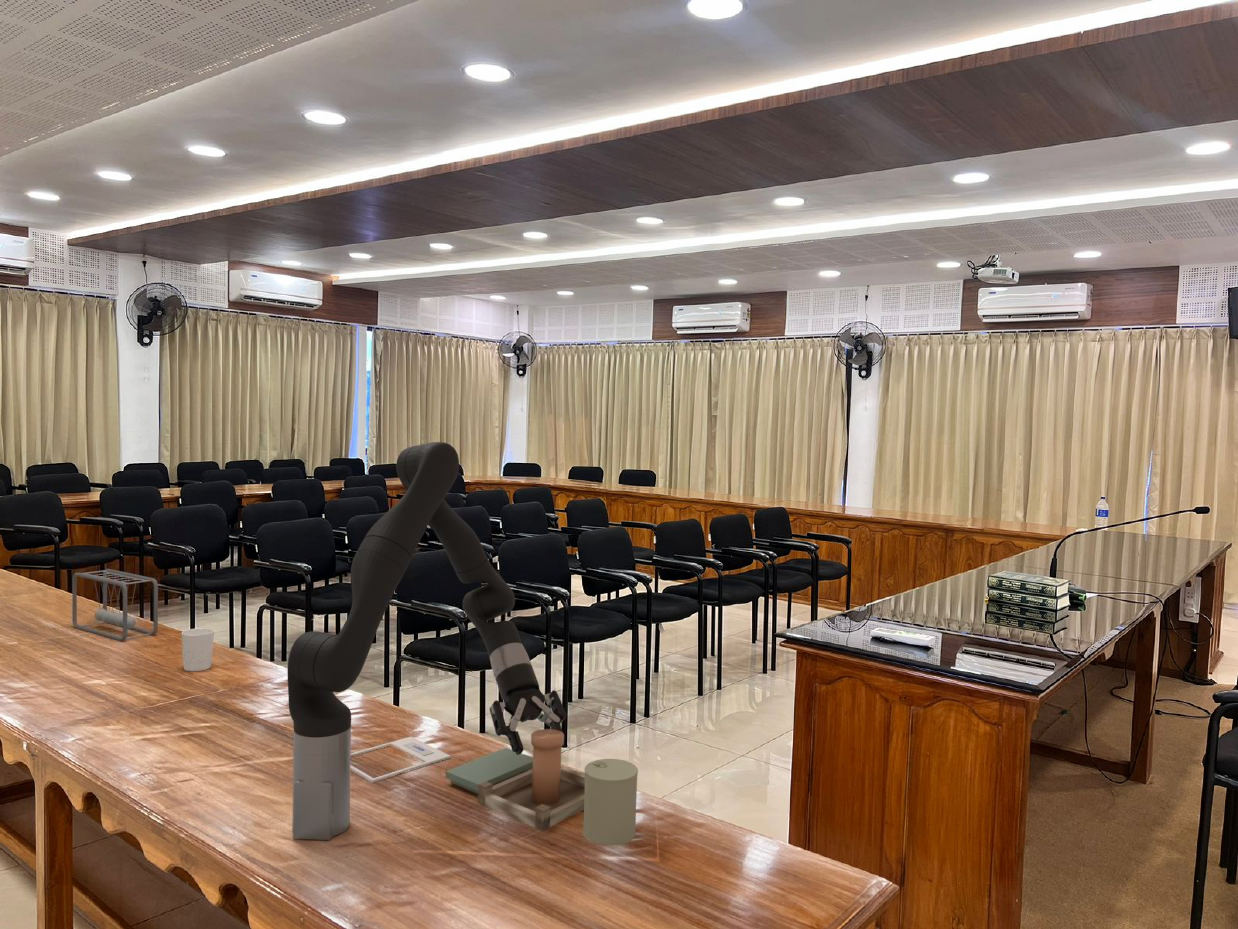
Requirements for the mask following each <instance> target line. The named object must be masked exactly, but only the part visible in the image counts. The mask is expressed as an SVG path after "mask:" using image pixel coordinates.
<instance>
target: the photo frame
mask: <svg viewBox="0 0 1238 929" xmlns="http://www.w3.org/2000/svg"><path fill="white" fill-rule="evenodd" d="M387 746H388V747H393V746H394V747H393V748H395V747H396V748H397V750H398V749H400V750H402V751H403V752H402V751H401V752H402V753H404V752H405V753H404V754H406V753H409V754H410V755H412V756H415V757H416V758H417V759H416V758H415V759H416V760H418V759H419V760H421V761H423V762H424V763H423V762H421V761H420V762H421V763H418V764H414V765H412V766H411V765H410V766H408V767H406V768H402V769H400V770H399V769H398V770H395V771H393V772H389V773H386V774H382V775H380V776H377V777H372V776H370V775H368V774H367V773H365V772H364V771H362V770H361V769H358V768H357V767H355V766H353V765H352V764H350V771H351V770H352V771H351V772H353V773H355V774H356V773H357V775H358V776H360V777H361V778H364V779H365V780H367V781H369V782H370V783H371V784H372V783H373V784H374V783H377V782H380V781H383V780H385V779H389V778H392V777H395V775H396V776H398V775H397V774H399V773H402V774H404V773H403V772H405V771H408V770H412V771H414V770H413V769H415V768H418V767H421V768H424V767H427V766H430V765H429V764H431V763H434V764H436V762H437V763H440V762H443V761H446V760H449V758H450V759H451V755H450V754H447V753H446V752H444V751H442V750H439V749H438V748H435V747H433V746H431V745H429V744H427V743H426V742H423V741H422V740H419V739H417V738H415V737H413V736H408V737H404V738H401V739H398V740H397V739H396V740H394V741H390V742H386V743H384V744H380V745H377V746H376V745H375V746H373V747H369V748H368V747H367V748H365V749H362V750H357V751H356V752H351V755H350V758H352V757H351V756H353V757H357V756H359V755H358V754H360V755H362V754H361V753H364V754H367V753H370V752H369V751H371V752H373V751H372V750H374V751H377V750H376V749H378V750H381V749H384V747H385V748H388V747H387ZM396 748H395V749H396ZM400 750H399V751H400ZM366 752H367V753H366ZM356 755H357V756H356ZM410 755H409V756H410ZM412 756H411V757H412ZM419 760H418V761H419ZM442 760H443V761H442ZM439 761H440V762H439ZM426 765H427V766H426ZM431 765H432V764H431ZM423 766H424V767H423ZM418 769H419V768H418ZM415 770H416V769H415ZM408 772H409V771H408ZM405 773H406V772H405ZM399 775H400V774H399ZM388 777H389V778H388Z"/></svg>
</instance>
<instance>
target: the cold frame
mask: <svg viewBox="0 0 1238 929" xmlns="http://www.w3.org/2000/svg"><path fill="white" fill-rule="evenodd" d="M532 772H533V769H531V770H528V771H526V772H524V773H519V774H517V775H514V776H512V777H510V778H507V779H505V780H503V781H500V782H498V783H496V784H494V785H492V783H489V782H487V781H485V782H482V783H480V784H478V794H477V805H481V806H482V807H485V808H488V809H490V810H492V811H494V812H496V813H497V812H498V813H499V814H502V815H504V816H506V817H509V818H511V819H513V820H515V821H518V822H521V823H523V824H526V825H527V826H530V827H533V828H534V829H537V830H539V831H542V832H544V831H546V830H548V829H550V828H552V827H554V826H556V825H557V824H559V823H561V822H562V821H565V820H567V819H569V818H570V817H572V816H574V815H576V814H578V813H580V812H582V811H584V794H585V773H582V772H579V771H576V770H573V769H570V768H568V767H565V766H563V765H561V781H560V800H559V802H557V803H555V804H552V805H544V804H542V805H540V804H536V803H534V802H533V801H532ZM578 772H579V773H578Z"/></svg>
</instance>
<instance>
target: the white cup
mask: <svg viewBox="0 0 1238 929" xmlns="http://www.w3.org/2000/svg"><path fill="white" fill-rule="evenodd" d="M214 632H215V631H214V629H212V628H205V627H204V628H203V627H199V628H190V629H186V630H183V631H182V632H181V651H182V660H183V661H182V662H183V670H184V671H187V672H200V671H206V670H209V669H210V668H212V657H213V651H214V650H213V649H214V636H215V633H214Z"/></svg>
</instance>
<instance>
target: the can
mask: <svg viewBox="0 0 1238 929" xmlns="http://www.w3.org/2000/svg"><path fill="white" fill-rule="evenodd" d="M583 769H584V774H585V794H584V810H583V825H582V835H583V836H584V838H585V839H586V840H587V841H590V842H591V843H594V844H598V845H602V846H621V845H624V844H628V843H629V842H631V841H633V840H634V839H635V838H636V836H637V834H636V832H637V830H636V827H637V826H636V822H637V821H636V820H637V818H636V817H637V816H636V815H637V795H638V794H637V791H638V773H639V768H638V767H637V765H635V764H633V763H631V762H630V761H626V760H624V759H618V758H602V759H595V760H593V761H590V762H588V763H587V764H586V765H585V767H584V768H583Z"/></svg>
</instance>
